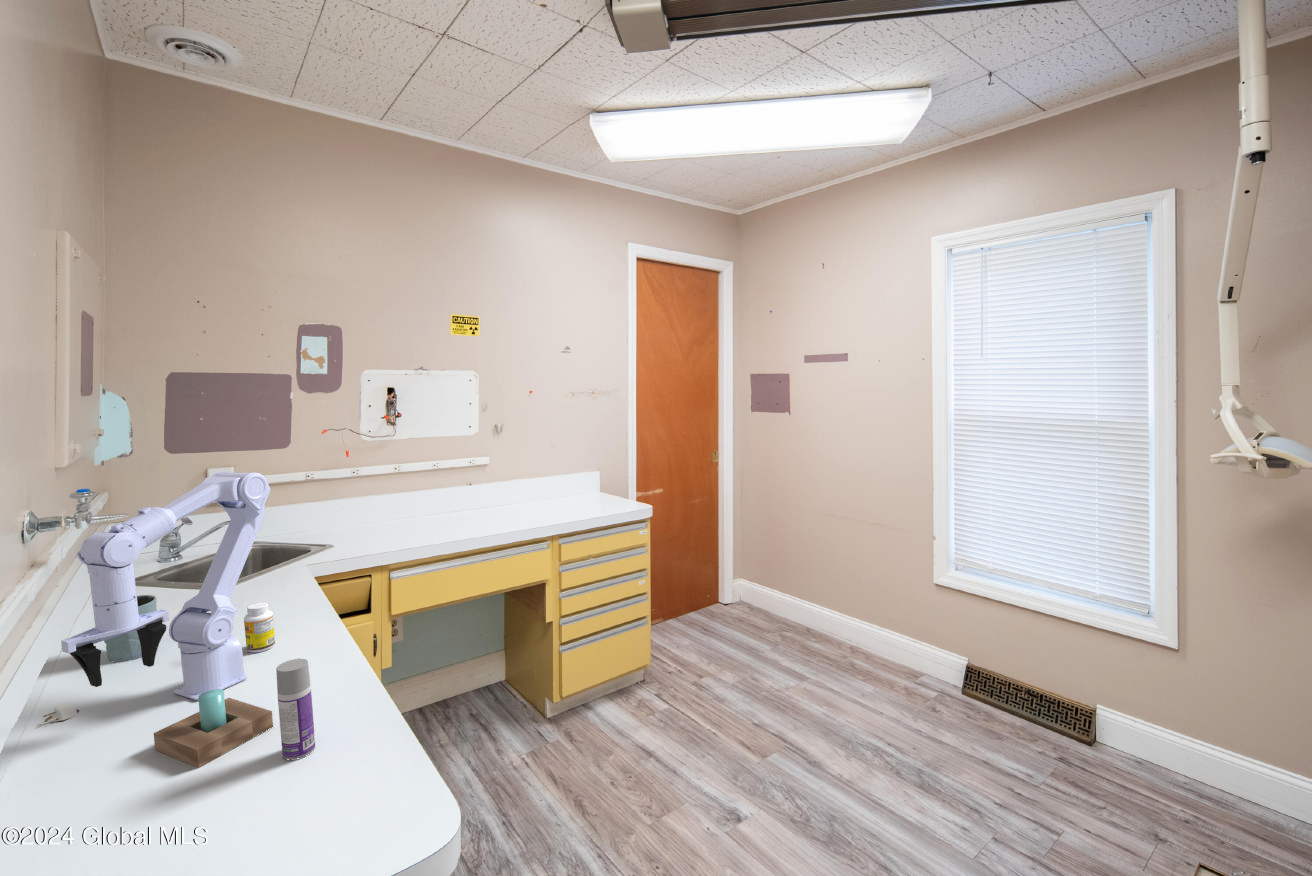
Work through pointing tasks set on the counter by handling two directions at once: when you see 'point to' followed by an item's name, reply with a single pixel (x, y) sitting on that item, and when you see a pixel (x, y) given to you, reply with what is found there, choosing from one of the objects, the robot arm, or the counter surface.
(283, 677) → the container
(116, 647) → the green plant pot
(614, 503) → the counter surface
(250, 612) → the supplement bottle
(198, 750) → the socket block
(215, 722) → the peg
